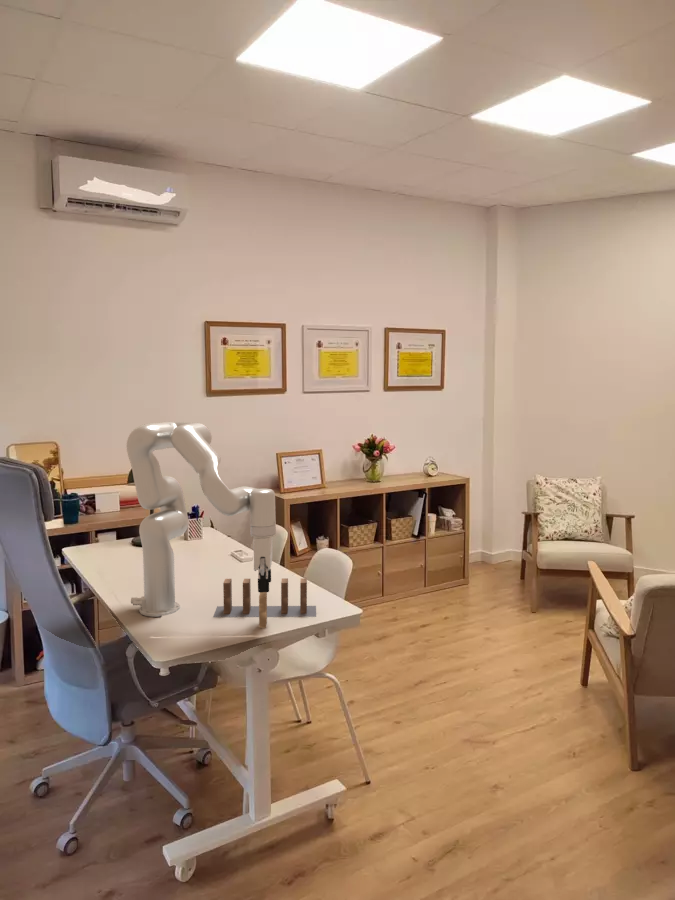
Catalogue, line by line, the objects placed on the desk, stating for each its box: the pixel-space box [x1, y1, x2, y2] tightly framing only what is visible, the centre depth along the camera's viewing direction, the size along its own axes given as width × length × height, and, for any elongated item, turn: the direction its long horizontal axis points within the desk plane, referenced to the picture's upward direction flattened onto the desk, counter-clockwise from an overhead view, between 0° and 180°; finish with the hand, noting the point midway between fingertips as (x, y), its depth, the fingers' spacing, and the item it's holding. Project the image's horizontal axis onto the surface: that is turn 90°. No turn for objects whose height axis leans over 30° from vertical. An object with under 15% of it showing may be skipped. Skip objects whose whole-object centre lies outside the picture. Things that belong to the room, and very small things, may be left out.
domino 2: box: [242, 578, 252, 614], centre depth 218 cm, size 2×5×10 cm, turn 2°
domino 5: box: [299, 578, 308, 614], centre depth 219 cm, size 2×5×10 cm, turn 2°
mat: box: [212, 605, 317, 618], centre depth 219 cm, size 32×10×1 cm, turn 92°
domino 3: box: [258, 592, 268, 629], centre depth 207 cm, size 2×5×10 cm, turn 2°
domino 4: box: [280, 578, 289, 614], centre depth 219 cm, size 2×5×10 cm, turn 2°
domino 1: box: [222, 578, 233, 614], centre depth 218 cm, size 2×5×10 cm, turn 2°
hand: (264, 586), depth 206 cm, fingers open, 9 cm apart
